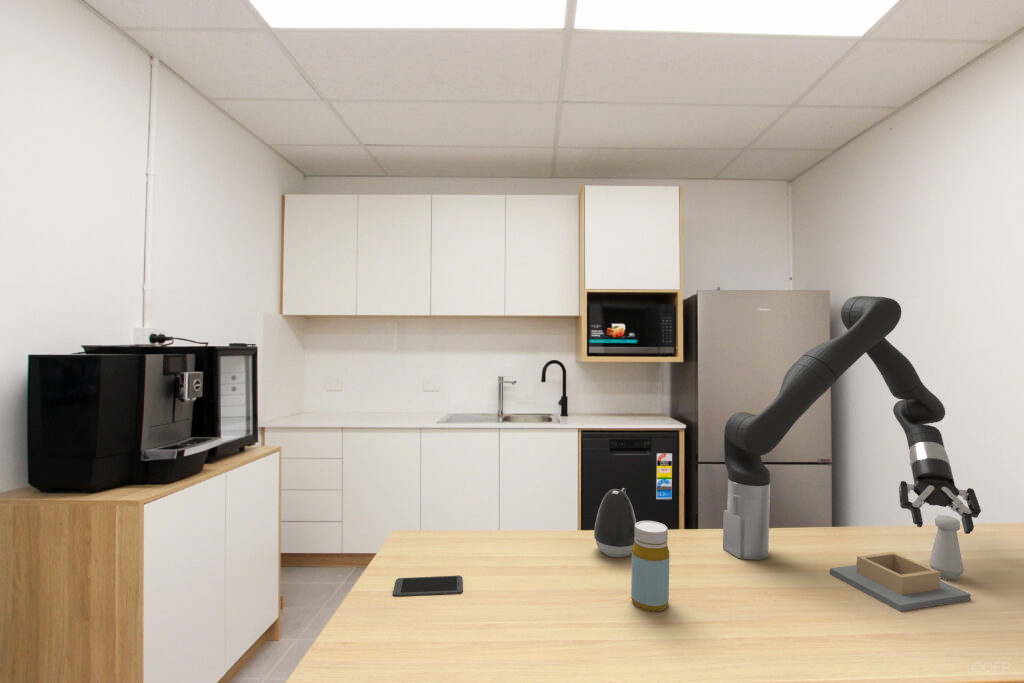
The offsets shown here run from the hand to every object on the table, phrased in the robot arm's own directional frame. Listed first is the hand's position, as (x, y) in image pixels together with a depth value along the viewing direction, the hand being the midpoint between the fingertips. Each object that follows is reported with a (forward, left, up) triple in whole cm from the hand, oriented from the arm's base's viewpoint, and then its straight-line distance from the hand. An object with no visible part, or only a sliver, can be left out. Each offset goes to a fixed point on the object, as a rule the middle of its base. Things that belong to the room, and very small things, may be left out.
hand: (943, 528), depth 118 cm
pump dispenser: (-66, +26, -10) cm, 72 cm away
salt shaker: (-1, -2, -10) cm, 10 cm away
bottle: (-70, +3, -10) cm, 71 cm away
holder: (-16, -3, -10) cm, 19 cm away
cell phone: (-111, +20, -10) cm, 113 cm away
